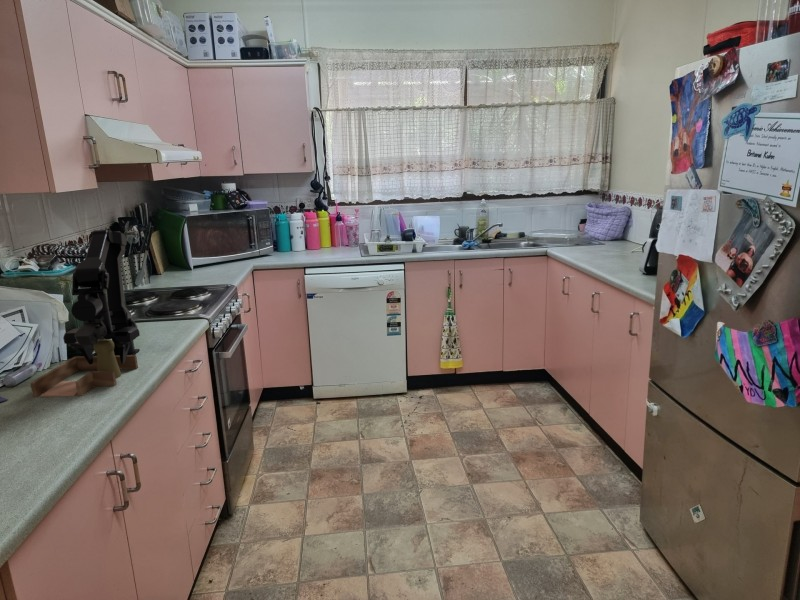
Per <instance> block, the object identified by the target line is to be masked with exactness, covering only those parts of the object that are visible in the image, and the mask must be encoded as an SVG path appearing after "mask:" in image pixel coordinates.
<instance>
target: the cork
mask: <svg viewBox="0 0 800 600" xmlns="http://www.w3.org/2000/svg"><path fill="white" fill-rule="evenodd" d="M92 349H93V350H94V352H95V354H96V356H97V370H96V371H114V373H115V379H116V380H117V379H119V378H120V377H121V376H122V373H121V369H119V366H118V363H117V360H116V357H115V354H114V342H113V341H112V339H105V338H103V339H98V341H97V343H96V344H94V345H92ZM118 377H119V378H118Z"/></svg>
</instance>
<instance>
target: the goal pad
mask: <svg viewBox="0 0 800 600" xmlns="http://www.w3.org/2000/svg"><path fill="white" fill-rule="evenodd" d="M76 381H77V380H69V381H68V380H67V381H65V380H62V381H61V382H59V383H58V384H56V385H55V386H53V387H52V388H50V389H48V390H47V391H45V392H44V393H42V394H41V395H39V396H40V397H41V398H42V397H48V398H49V397H50V398H51V397H75V396H76V395H78V394H77V389H76V384H75V382H76Z"/></svg>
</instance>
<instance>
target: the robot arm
mask: <svg viewBox="0 0 800 600" xmlns="http://www.w3.org/2000/svg"><path fill="white" fill-rule="evenodd" d="M127 244H128V243H127V236H126V234H124V233H123V232H121V231H120V230H118V231H115V230H114V231H113V230H109V229H97V230H96V229H95V230H92V231H90V241H89V245H88V249H87V253H86V254H85V255H86V256H85V259H84V260H82V261H81V262H79V263H78V264H77V265H76V268H75V270H74V271H73V274H72V286H71V290H72V291H71V294H72V295H71V296H77V300H76V301H75V302H74V303H73V304H72V306H71V309H70V310H71V314H72V316H73V317H74V318H75V319H76V320H78V321H80V322H83V323H82V326H80V327H79V328H78V327H77V328H73V329H71V330H68V331H67V332H65V333H64V335H63V337H62V338H63V343H64V344H67V345H69V347H74V348H76V349H78V350H79V352H80V353H81V354H82V356H84V357H85V359H86V360H87V361H88V363H89V364H93V356H94V355H93V346H94V344H96V343H97V341H99V340H104V339H110V340H112V341H113V342H114V350H113V352H114V354H115V356H116V355H120V360H121V363H122V364H123V363H125V360H126V356H127V355H137V353H139V351H140V350H141V349H140V348H135V343H134V341H135V340H136V339H137V338H138V337H140V335H141V333H140V329H139V328H138V325H137V323H136V322H135V320H134V318H133V317H132V313H131V311H130V310H129V309H128V308H127V307H126V305H125V297H124V295H125V293H124V285H123V275H122V263H121V259H123V256H124V255H125V254H126V246H127Z"/></svg>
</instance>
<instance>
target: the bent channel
mask: <svg viewBox="0 0 800 600" xmlns="http://www.w3.org/2000/svg"><path fill="white" fill-rule="evenodd" d="M115 357H116V360H117V363H118V366H119V369H120V370H137V369H138V368H139V364H138V359H137V357H138V356H137V354H134V355H127V356H126V360H125V363H123V364H122V363H121V360H120V355H116V356H115ZM76 371H77V372H78V371H89V372H87V373H86V374H85V375H84V376H81V377H80V378H79V379H77V380H75V381H76V382H75V384H76V389H77V394H76V395H77V396H78V397H81V396H83V395H85V394H86V393H87V391H88V392H89V391H90V390H92V389H93V388H95V387H115V386H117V378H116V379H115V373H114V371H98V370H97V355H93V364H89V363H88V361H87V360H86V359H85V357H84V356H83V355H81V356H79V355H77V356H73V357H71V358H70V359H68V360H66V361H65V362H63V363H62V364H60V365H58V366H56V367H55V368H52V369H51V370H50V371H47V372H46V373H44V374H42V375H41V376H39V377H38V378H36V379H34V380H32V381H31V382H30V383H29V384H30V388H31V393H32V397H33V398H37V397H39V396H40V395H42V394H43V393H45V392H46V391H48V390H49V389H51V388H53V387H54V386H56V385H57V384H59V383H60V382H62V381H65V380H66V379H68V378H69V377H70V376H72V375H74V374H75V373H77V372H76Z"/></svg>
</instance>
